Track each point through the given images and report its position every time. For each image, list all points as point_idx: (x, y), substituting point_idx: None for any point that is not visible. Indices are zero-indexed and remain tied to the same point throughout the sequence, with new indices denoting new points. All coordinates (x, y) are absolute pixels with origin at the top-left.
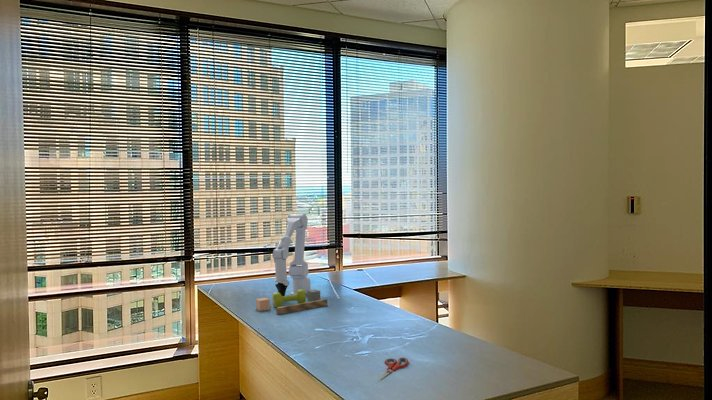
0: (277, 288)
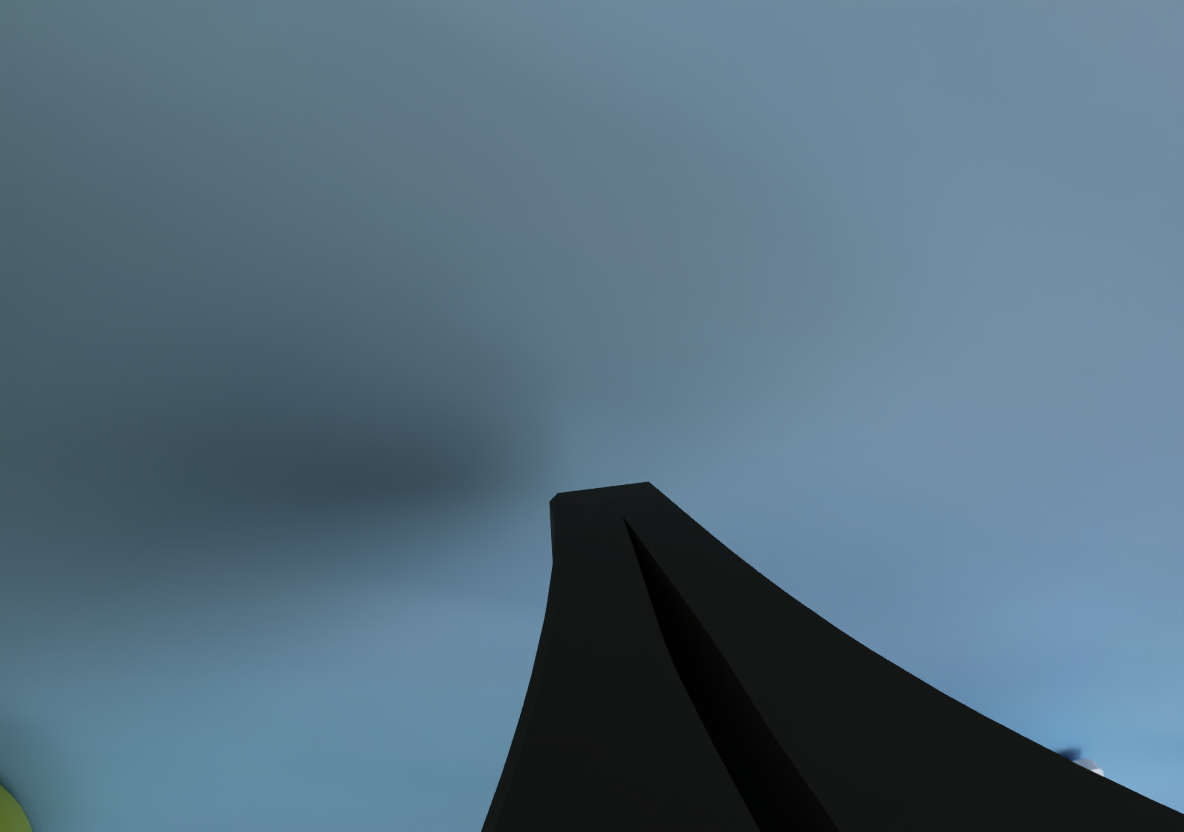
0: (948, 785)
